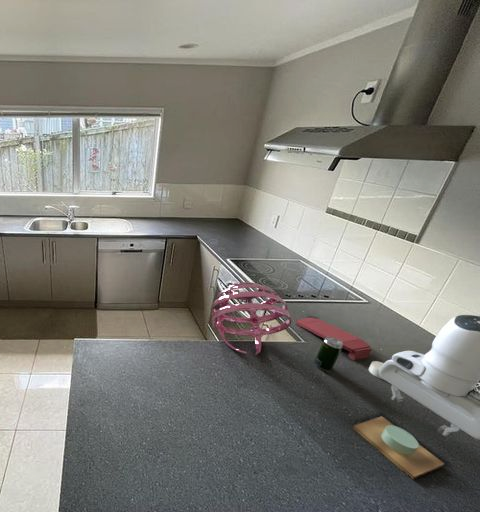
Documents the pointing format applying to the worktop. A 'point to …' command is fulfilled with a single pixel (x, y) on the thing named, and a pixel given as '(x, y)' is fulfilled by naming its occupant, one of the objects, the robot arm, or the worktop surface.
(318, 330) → the red long block
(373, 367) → the white round disc
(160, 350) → the worktop surface
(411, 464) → the oak board
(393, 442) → the mint green round lid
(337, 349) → the beer can
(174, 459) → the worktop surface
